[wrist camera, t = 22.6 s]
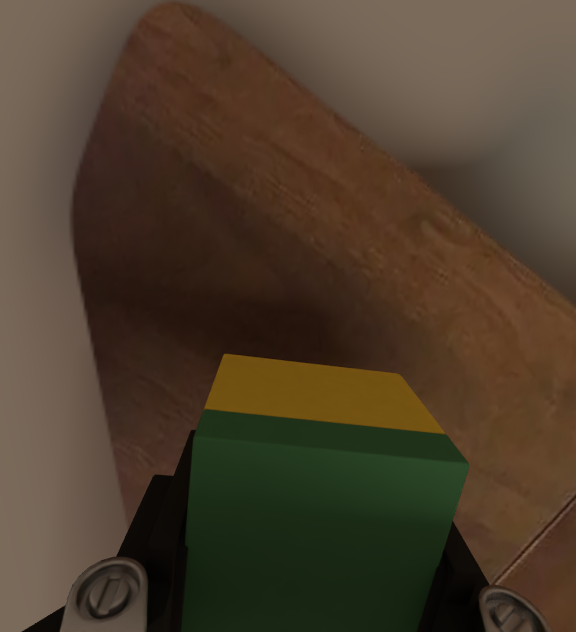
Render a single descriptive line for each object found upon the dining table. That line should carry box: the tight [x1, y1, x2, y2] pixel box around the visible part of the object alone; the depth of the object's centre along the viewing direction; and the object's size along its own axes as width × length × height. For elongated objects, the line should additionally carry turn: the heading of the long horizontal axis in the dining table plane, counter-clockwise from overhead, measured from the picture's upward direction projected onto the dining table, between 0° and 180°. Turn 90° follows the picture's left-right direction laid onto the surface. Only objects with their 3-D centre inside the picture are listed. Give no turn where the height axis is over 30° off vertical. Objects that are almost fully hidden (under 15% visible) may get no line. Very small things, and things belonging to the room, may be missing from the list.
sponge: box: [181, 354, 469, 632], centre depth 9 cm, size 8×5×4 cm, turn 172°
